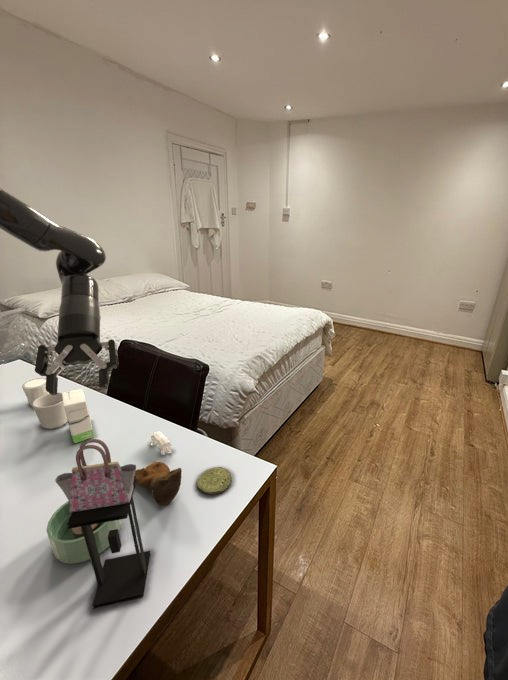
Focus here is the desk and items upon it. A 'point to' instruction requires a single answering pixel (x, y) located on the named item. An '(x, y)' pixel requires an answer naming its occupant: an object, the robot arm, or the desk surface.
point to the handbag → (103, 506)
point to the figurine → (161, 442)
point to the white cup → (35, 389)
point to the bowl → (65, 542)
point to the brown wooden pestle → (79, 533)
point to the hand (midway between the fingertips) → (78, 391)
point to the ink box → (77, 415)
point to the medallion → (214, 480)
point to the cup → (50, 410)
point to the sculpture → (160, 481)
